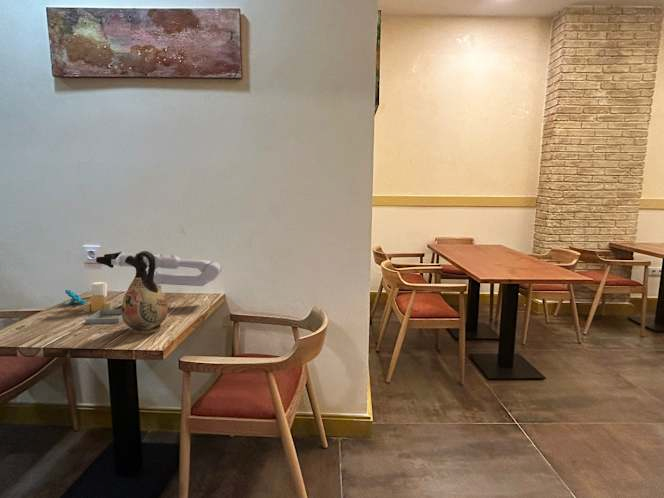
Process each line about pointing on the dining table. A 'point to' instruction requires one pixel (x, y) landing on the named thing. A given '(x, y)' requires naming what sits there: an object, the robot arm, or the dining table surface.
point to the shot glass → (99, 288)
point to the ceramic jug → (143, 297)
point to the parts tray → (94, 319)
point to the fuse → (97, 302)
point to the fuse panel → (88, 311)
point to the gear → (74, 298)
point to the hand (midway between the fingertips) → (100, 258)
